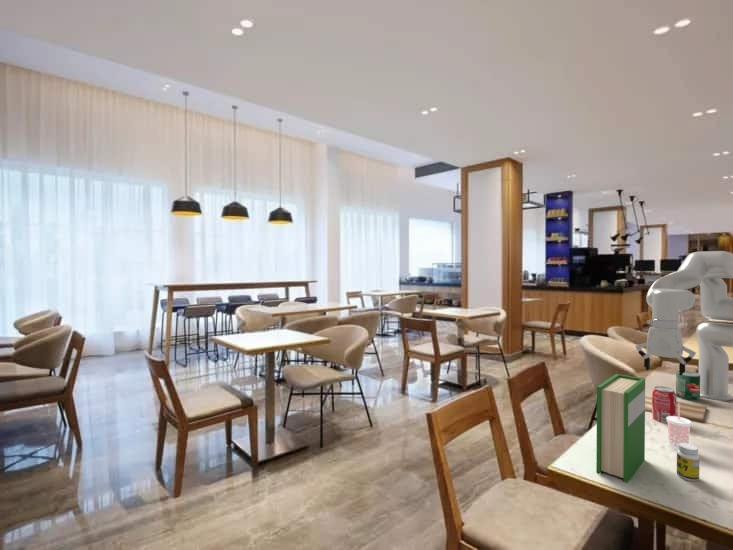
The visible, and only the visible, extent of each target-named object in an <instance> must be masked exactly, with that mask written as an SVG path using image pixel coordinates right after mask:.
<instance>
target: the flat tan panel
mask: <svg viewBox="0 0 733 550" xmlns="http://www.w3.org/2000/svg"><path fill="white" fill-rule="evenodd" d="M645 412H648V413H652V396H649V395H645Z"/></svg>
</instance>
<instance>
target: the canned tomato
mask: <svg viewBox="0 0 733 550" xmlns="http://www.w3.org/2000/svg"><path fill="white" fill-rule="evenodd" d="M675 372H676V373H675V377H676V378H675V394H676V398H679V399H680V400H681V399H682V400H686V401H692V402H693V401H694V402H698V401H701V400H700V399H701V397H700V374H699V372H695V371H689V370H685V373H683V374H682V375H679V370H677V371H675Z"/></svg>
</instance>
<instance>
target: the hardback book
mask: <svg viewBox="0 0 733 550" xmlns="http://www.w3.org/2000/svg"><path fill="white" fill-rule="evenodd" d="M645 396H646V378H642V377H638V376H637V377H636V376H631V375H624V374H619V373H615V374H614V375H612V376H611V377H609V378H608V379H606V380H604V381H603V382H602V383H600V384H599V385H598V386H596V470H595V471H596V472H597V474H599V473H601V474H602V472H604V473H607V474H609V475H612V476H615V477H619V478H622V479H623V482H624V483H625V482H626V484H629V482H630V481H631V480H632V478H633V477H634V475H635V474H636V473H637V471H638V470H639V469H640V467H641V465H642V464H643V463H644V462H645V455H646V452H645V450H646V449H645V447H646V445H645V444H646V443H645V441H646V440H645V439H646V411H645Z"/></svg>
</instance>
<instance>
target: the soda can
mask: <svg viewBox="0 0 733 550" xmlns="http://www.w3.org/2000/svg"><path fill="white" fill-rule="evenodd" d="M651 397H652V412H651V417H652V419H653V420H654V421H657V422H660V423H663V424H668V422H667V419H666V417H667V416H676V410H677V401H678V400H677V396H676V391H675V390H674V389H673V388H670V387H667V386H659V385H658V386H655V387H654V389H653V391H652V395H651Z"/></svg>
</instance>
